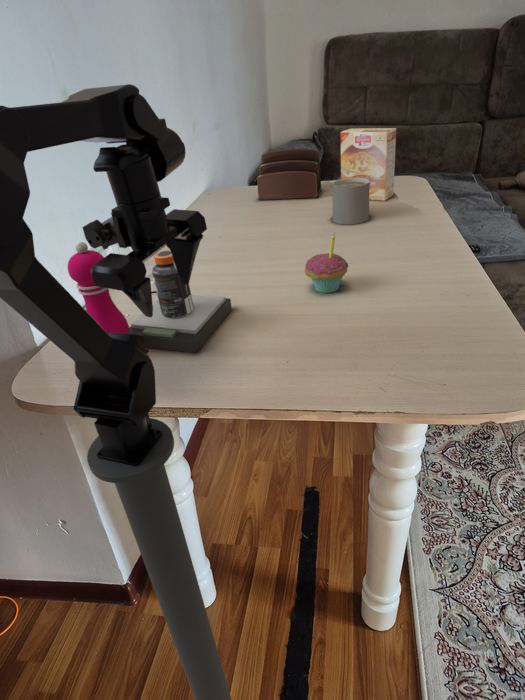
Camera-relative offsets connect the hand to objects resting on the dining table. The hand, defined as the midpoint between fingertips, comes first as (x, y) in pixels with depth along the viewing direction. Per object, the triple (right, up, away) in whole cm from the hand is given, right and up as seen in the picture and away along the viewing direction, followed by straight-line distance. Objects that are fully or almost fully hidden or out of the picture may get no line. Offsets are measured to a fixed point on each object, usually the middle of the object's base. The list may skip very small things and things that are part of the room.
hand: (168, 299), depth 71 cm
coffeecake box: (+47, +41, +81) cm, 103 cm away
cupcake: (+27, +5, +27) cm, 39 cm away
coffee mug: (+39, +30, +65) cm, 82 cm away
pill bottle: (-2, -1, +17) cm, 18 cm away
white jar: (-10, +6, +36) cm, 38 cm away
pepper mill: (-13, +1, +8) cm, 15 cm away
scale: (-1, -3, +19) cm, 20 cm away
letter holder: (+23, +45, +92) cm, 105 cm away
